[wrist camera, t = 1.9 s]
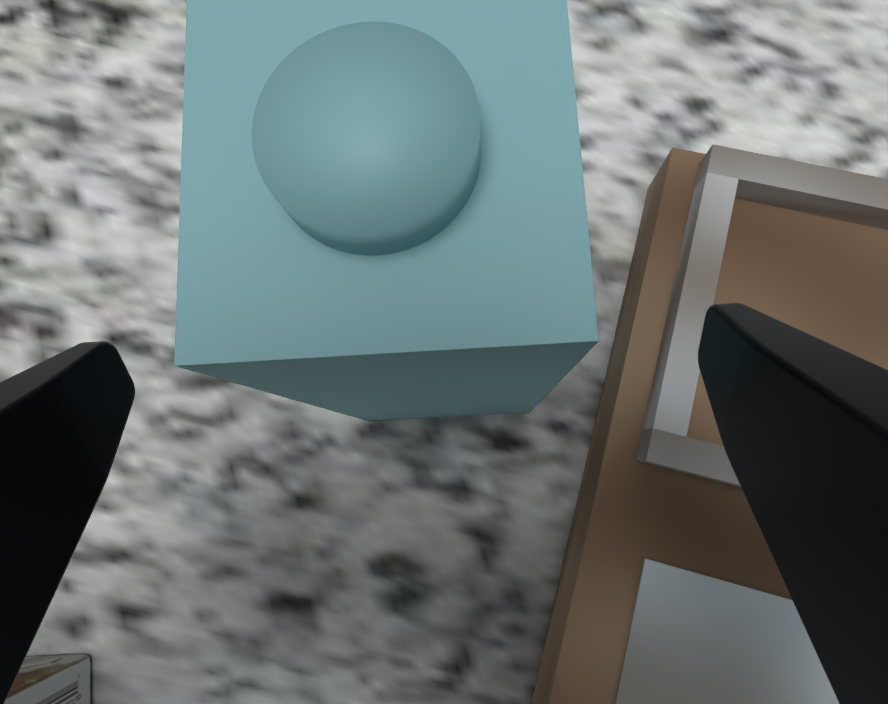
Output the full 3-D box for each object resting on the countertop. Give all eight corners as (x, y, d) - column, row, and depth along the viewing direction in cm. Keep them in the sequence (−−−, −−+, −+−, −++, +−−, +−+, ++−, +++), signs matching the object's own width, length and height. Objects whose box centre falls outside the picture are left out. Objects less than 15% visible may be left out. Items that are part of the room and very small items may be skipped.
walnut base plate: (876, 1041, 15) (995, 1221, 11) (486, 900, 16) (486, 1024, 12) (980, 257, 18) (1099, 209, 14) (648, 187, 19) (684, 128, 15)
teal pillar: (529, 412, 18) (611, 327, 6) (368, 420, 18) (140, 355, 6) (517, 256, 19) (570, -89, 7) (364, 267, 19) (158, -46, 7)
